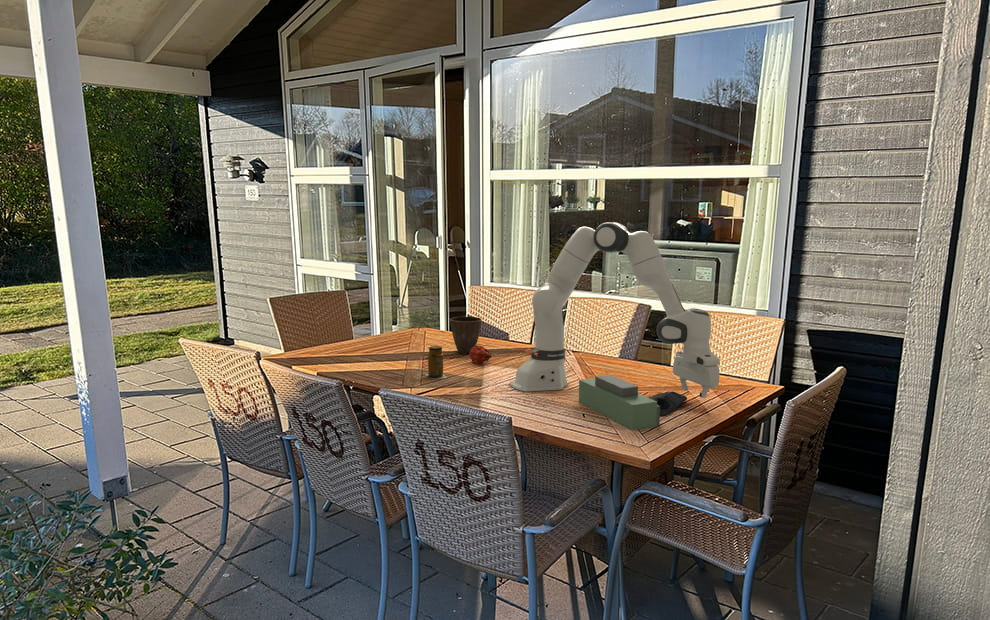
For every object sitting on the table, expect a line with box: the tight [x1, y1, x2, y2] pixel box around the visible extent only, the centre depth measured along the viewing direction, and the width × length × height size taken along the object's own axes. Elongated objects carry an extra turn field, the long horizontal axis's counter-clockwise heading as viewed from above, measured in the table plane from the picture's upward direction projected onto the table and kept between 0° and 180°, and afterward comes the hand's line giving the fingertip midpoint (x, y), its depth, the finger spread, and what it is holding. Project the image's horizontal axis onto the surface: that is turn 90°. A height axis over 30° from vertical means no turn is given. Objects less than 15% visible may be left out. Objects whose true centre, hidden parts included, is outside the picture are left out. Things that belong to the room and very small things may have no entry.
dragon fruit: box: [467, 344, 492, 365], centre depth 282 cm, size 8×8×12 cm
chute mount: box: [578, 374, 661, 431], centre depth 212 cm, size 11×32×11 cm, turn 23°
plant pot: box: [449, 316, 483, 355], centre depth 303 cm, size 15×15×16 cm
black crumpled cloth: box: [648, 391, 688, 417], centre depth 221 cm, size 15×22×5 cm
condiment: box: [424, 345, 448, 380], centre depth 259 cm, size 7×8×12 cm
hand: (693, 393), depth 225 cm, fingers open, 8 cm apart
